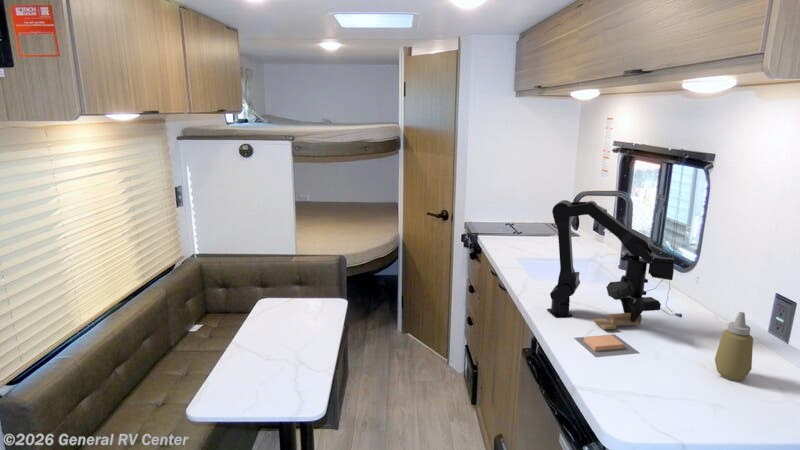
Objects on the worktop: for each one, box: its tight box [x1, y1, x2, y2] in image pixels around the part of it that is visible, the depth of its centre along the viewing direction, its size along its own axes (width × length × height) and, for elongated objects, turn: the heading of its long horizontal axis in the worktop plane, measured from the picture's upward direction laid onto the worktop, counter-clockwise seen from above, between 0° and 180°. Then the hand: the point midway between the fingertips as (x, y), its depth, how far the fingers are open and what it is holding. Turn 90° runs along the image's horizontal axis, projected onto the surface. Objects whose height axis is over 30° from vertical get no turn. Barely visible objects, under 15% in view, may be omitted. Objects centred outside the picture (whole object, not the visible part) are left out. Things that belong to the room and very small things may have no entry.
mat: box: [573, 333, 640, 358], centre depth 140 cm, size 12×14×1 cm
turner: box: [593, 312, 643, 330], centre depth 152 cm, size 6×14×3 cm, turn 100°
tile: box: [583, 334, 624, 351], centre depth 139 cm, size 6×2×9 cm
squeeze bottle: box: [714, 311, 754, 382], centre depth 122 cm, size 8×8×18 cm
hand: (629, 320), depth 152 cm, fingers closed on turner, 3 cm apart
